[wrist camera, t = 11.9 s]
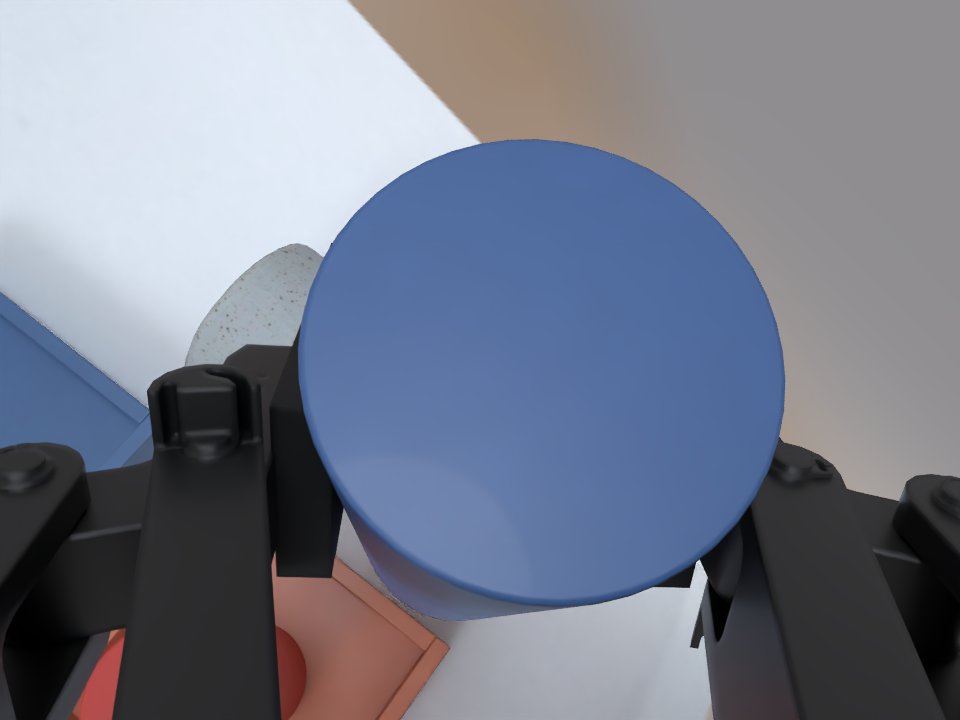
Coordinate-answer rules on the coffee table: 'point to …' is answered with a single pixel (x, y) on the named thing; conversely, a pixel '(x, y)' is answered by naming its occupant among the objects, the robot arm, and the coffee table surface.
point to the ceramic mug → (258, 306)
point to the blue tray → (65, 398)
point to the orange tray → (348, 647)
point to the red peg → (105, 674)
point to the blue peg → (538, 379)
